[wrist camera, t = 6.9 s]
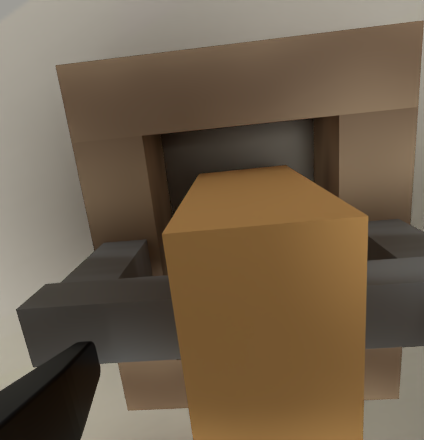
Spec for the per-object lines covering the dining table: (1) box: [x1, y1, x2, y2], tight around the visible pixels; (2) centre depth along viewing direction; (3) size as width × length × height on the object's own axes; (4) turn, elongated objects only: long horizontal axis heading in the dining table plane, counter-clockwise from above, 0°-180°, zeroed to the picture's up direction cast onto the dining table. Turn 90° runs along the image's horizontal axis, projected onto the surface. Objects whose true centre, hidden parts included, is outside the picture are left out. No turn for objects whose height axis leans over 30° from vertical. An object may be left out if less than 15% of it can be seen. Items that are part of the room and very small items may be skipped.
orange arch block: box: [162, 165, 368, 440], centre depth 12 cm, size 7×4×9 cm, turn 6°
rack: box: [16, 21, 424, 411], centre depth 14 cm, size 17×14×10 cm
